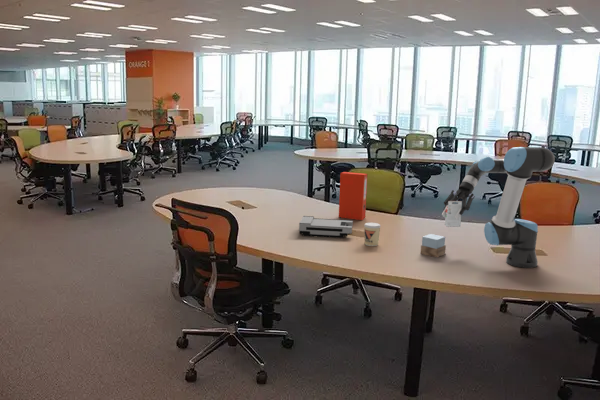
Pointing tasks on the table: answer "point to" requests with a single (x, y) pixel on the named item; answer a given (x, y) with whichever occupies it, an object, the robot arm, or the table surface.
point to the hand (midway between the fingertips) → (449, 217)
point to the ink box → (453, 214)
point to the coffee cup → (371, 233)
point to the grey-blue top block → (433, 241)
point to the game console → (325, 227)
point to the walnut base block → (433, 251)
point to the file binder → (352, 195)
